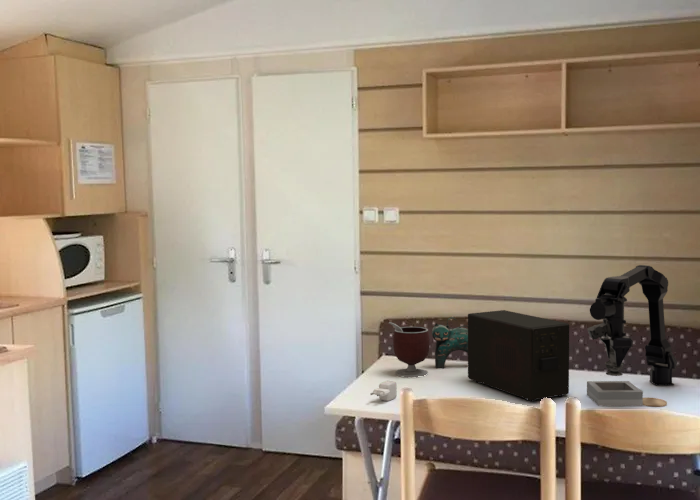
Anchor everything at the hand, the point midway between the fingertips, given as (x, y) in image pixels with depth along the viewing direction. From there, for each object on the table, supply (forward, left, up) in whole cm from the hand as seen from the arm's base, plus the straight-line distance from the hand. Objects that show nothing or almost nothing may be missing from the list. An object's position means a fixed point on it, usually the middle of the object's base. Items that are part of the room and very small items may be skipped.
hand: (614, 363), depth 252 cm
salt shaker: (0, 0, -4) cm, 4 cm away
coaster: (-11, +4, -12) cm, 17 cm away
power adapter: (+76, 0, -12) cm, 77 cm away
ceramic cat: (+47, -49, -12) cm, 69 cm away
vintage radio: (+28, -15, -13) cm, 34 cm away
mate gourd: (+66, -38, -12) cm, 77 cm away
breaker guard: (0, 0, -12) cm, 12 cm away
